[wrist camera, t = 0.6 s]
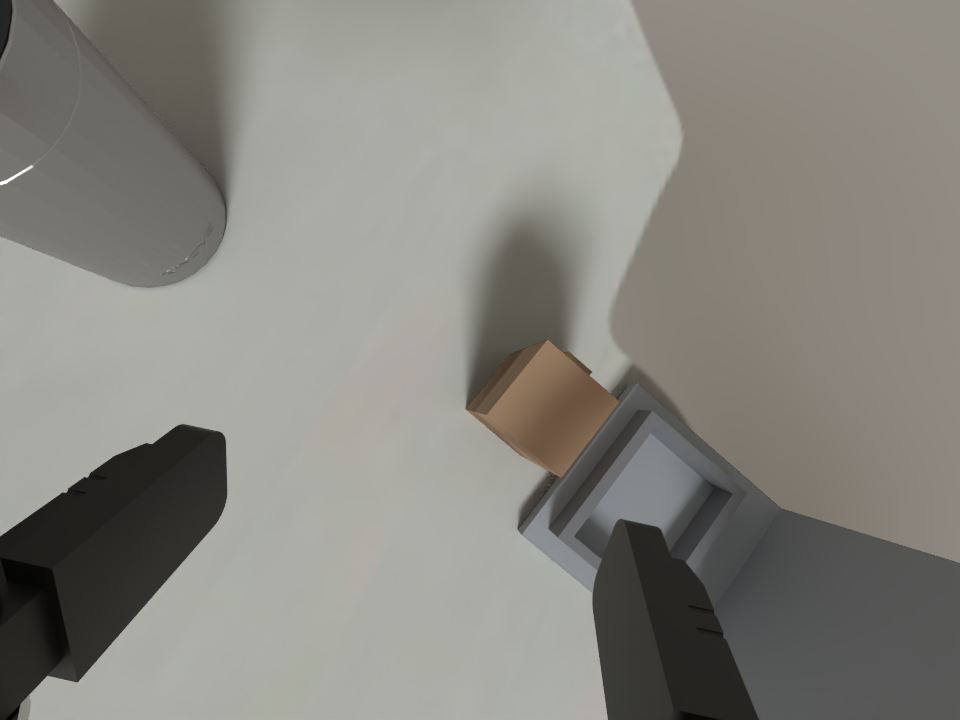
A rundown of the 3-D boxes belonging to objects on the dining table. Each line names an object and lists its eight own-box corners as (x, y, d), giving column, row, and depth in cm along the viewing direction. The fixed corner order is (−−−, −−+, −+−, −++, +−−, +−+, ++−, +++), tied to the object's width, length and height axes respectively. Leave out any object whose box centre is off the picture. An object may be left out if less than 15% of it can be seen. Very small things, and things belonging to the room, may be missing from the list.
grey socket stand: (517, 529, 33) (708, 765, 12) (629, 383, 35) (960, 367, 14) (684, 666, 34) (1124, 1101, 13) (783, 517, 36) (1306, 688, 15)
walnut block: (465, 409, 33) (486, 415, 24) (518, 345, 34) (557, 327, 25) (520, 455, 33) (561, 477, 25) (571, 390, 34) (628, 389, 25)
